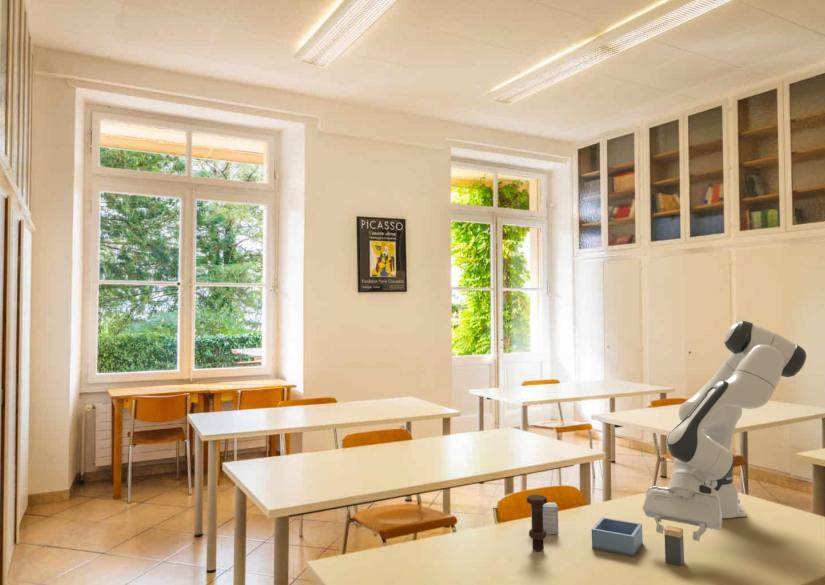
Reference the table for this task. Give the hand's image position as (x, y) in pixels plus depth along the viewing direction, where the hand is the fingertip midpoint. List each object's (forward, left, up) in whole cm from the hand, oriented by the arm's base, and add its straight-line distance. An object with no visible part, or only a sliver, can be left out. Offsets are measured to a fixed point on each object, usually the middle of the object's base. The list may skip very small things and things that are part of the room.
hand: (677, 535), depth 161 cm
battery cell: (+1, -1, -7) cm, 7 cm away
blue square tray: (-3, -17, -7) cm, 18 cm away
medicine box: (-3, -39, -7) cm, 39 cm away
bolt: (+11, -36, -7) cm, 38 cm away
